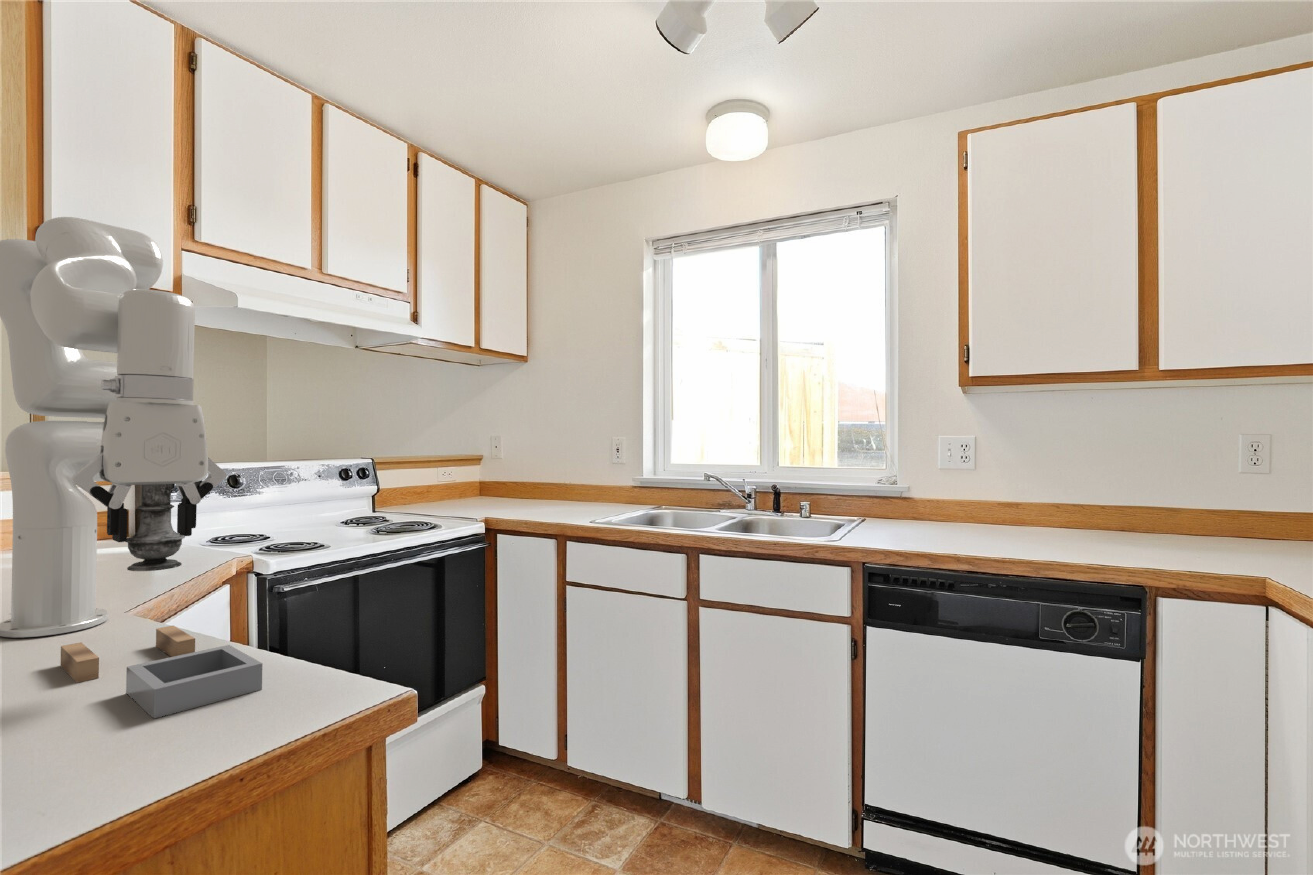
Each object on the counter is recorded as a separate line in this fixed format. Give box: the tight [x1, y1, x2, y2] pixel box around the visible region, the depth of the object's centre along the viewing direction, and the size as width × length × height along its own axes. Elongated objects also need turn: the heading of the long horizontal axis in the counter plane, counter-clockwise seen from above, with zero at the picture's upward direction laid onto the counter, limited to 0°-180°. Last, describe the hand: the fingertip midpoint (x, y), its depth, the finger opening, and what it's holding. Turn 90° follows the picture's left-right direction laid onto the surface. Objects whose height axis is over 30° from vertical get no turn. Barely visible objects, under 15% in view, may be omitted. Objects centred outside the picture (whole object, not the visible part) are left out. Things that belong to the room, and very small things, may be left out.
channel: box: [60, 625, 196, 683], centre depth 85 cm, size 9×12×2 cm
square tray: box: [125, 644, 263, 719], centre depth 75 cm, size 10×10×3 cm
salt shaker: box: [124, 484, 186, 572], centre depth 79 cm, size 6×6×12 cm
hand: (152, 536), depth 79 cm, fingers closed on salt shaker, 5 cm apart
